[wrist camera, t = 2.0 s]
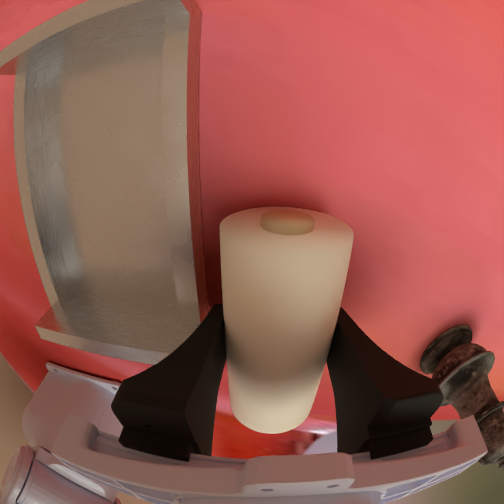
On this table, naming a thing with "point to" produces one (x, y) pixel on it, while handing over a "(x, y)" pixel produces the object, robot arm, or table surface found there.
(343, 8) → the table surface
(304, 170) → the table surface
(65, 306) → the cradle
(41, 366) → the table surface
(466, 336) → the rusty metal finial
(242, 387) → the roll
